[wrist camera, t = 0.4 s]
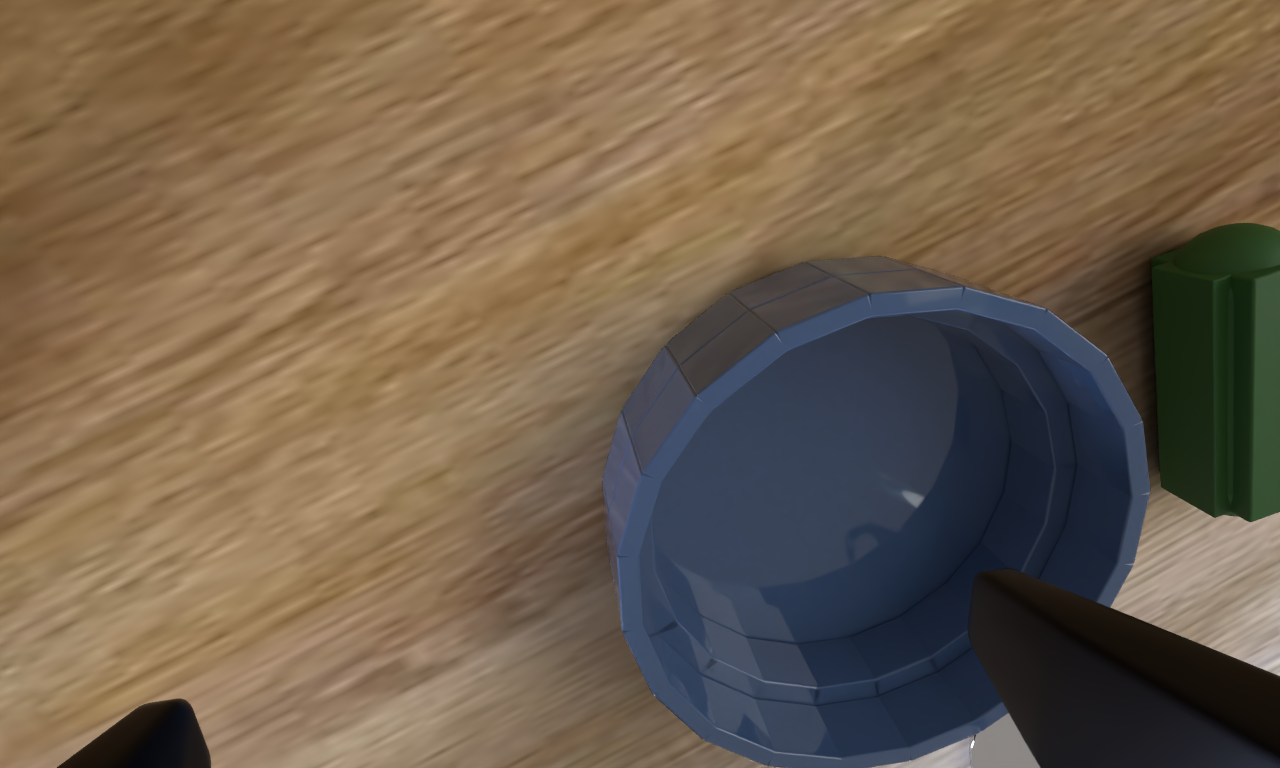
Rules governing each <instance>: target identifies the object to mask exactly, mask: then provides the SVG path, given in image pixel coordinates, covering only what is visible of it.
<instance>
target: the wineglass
mask: <svg viewBox="0 0 1280 768" xmlns="http://www.w3.org/2000/svg"><path fill="white" fill-rule="evenodd" d="M969 759H970V763H971V767H972V768H1040V767H1039V765H1038V763H1037V762H1036V760H1035V758H1034V757H1033V755H1032V753H1031V752H1030V750H1029V748H1028V746H1027V745H1026V743H1025V741H1024V739H1023V738H1022V736H1021V734H1020V732H1019V730H1018V729H1017V727H1016V725H1015V723H1014V722H1013V720H1012V718H1011V716H1010V714H1009V713H1008V714H1007V715H1005V716H1004V717H1002V718H1001V719H999V720H998V721H996V722H995V723H994V724H992V725H991V726H989V727H988V728H986V729H985V730H983V731H980V733H978V734H976V735H973V736H972V737H971V740H970V746H969Z"/></svg>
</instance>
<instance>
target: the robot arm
mask: <svg viewBox="0 0 1280 768" xmlns="http://www.w3.org/2000/svg"><path fill="white" fill-rule="evenodd" d="M967 630H968V637H969V641H970V643H971V646H972V648H973V650H974V652H975V654H976V656H977V658H978V659H979V661H980V663H981V665H982V666H983V668H984V670H985V672H986V674H987V675H988V677H989V679H990V681H991V682H992V684H993V686H994V688H995V690H996V691H997V693H998V695H999V697H1000V698H1001V700H1002V702H1003V704H1004V706H1005V707H1006V709H1007V711H1008V713H1009V714H1010V716H1011V718H1012V720H1013V722H1014V723H1015V725H1016V727H1017V729H1018V730H1019V732H1020V734H1021V736H1022V738H1023V739H1024V741H1025V743H1026V745H1027V746H1028V748H1029V750H1030V752H1031V753H1032V755H1033V757H1034V758H1035V760H1036V762H1037V763H1038V765H1039V767H1040V768H1280V676H1278V675H1275V674H1273V673H1270V672H1268V671H1265V670H1263V669H1260V668H1258V667H1256V666H1253V665H1251V664H1248V663H1246V662H1243V661H1241V660H1238V659H1236V658H1233V657H1231V656H1228V655H1226V654H1223V653H1221V652H1218V651H1216V650H1213V649H1211V648H1209V647H1206V646H1204V645H1201V644H1199V643H1196V642H1194V641H1191V640H1189V639H1186V638H1184V637H1181V636H1179V635H1176V634H1174V633H1171V632H1169V631H1166V630H1164V629H1162V628H1159V627H1157V626H1154V625H1152V624H1149V623H1147V622H1144V621H1142V620H1139V619H1137V618H1134V617H1132V616H1129V615H1127V614H1124V613H1122V612H1120V611H1117V610H1115V609H1112V608H1110V607H1107V606H1105V605H1102V604H1100V603H1097V602H1095V601H1092V600H1090V599H1087V598H1085V597H1082V596H1080V595H1078V594H1075V593H1073V592H1070V591H1068V590H1065V589H1063V588H1060V587H1058V586H1055V585H1053V584H1050V583H1048V582H1045V581H1043V580H1040V579H1038V578H1036V577H1033V576H1031V575H1028V574H1026V573H1023V572H1021V571H1018V570H1016V569H1013V568H1007V567H1005V568H998V569H992V570H985V571H980V572H978V573H977V574H976V575H975V576H974V578H973V580H972V585H971V594H970V604H969V614H968V624H967ZM57 768H211V759H210V754H209V750H208V748H207V745H206V742H205V740H204V737H203V734H202V732H201V729H200V727H199V724H198V721H197V719H196V716H195V713H194V711H193V708H192V707H191V705H190V704H189V703H188V702H187V701H186V700H184V699H171V700H165V701H159V702H152V703H148V704H144V705H142V706H139V707H138V708H136V709H135V710H134V711H132V712H131V713H130V714H128V715H127V716H126V717H124V718H123V719H122V720H120V721H119V722H117V723H116V724H115V725H113V726H112V727H111V728H109V729H108V730H107V731H105V732H104V733H103V734H101V735H100V736H99V737H97V738H96V739H95V740H93V741H92V742H91V743H89V744H88V745H87V746H85V747H84V748H82V749H81V750H80V751H78V752H77V753H76V754H74V755H73V756H72V757H70V758H69V759H68V760H66V761H65V762H64V763H62V764H61V765H60V766H58V767H57Z"/></svg>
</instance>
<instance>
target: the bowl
mask: <svg viewBox="0 0 1280 768" xmlns="http://www.w3.org/2000/svg"><path fill="white" fill-rule="evenodd" d="M666 345H667V346H666ZM666 345H665V346H664V347H663V348H662V349H661V351H660V352H659V354H658V355H657V357H656V358H655V360H654V361H653V363H652V364H651V366H650V367H649V369H648V370H647V372H646V373H645V375H644V376H643V378H642V379H641V381H640V382H639V384H638V385H637V387H636V388H635V390H634V391H633V393H632V394H631V396H630V397H629V399H628V400H627V402H626V403H625V405H624V406H623V410H622V411H621V412H620V416H619V419H618V423H617V427H616V430H615V434H614V437H613V441H612V444H611V448H610V452H609V455H608V459H607V462H606V466H605V469H604V473H603V481H602V488H603V502H604V516H605V530H606V543H607V549H608V554H609V560H610V566H611V571H612V577H613V582H614V589H615V594H616V600H617V606H618V611H619V617H620V623H621V628H622V633H623V635H624V637H625V639H626V641H627V643H628V645H629V647H630V649H631V651H632V653H633V656H634V658H635V660H636V662H637V664H638V666H639V668H640V670H641V672H642V674H643V676H644V678H645V680H646V682H647V684H648V686H649V688H650V690H651V693H652V694H654V696H655V697H656V698H657V699H658V700H659V701H661V702H662V703H663V704H664V705H665V706H666V707H667V708H668V709H669V710H671V711H672V712H673V713H674V714H675V715H676V716H677V717H678V718H679V719H681V720H682V721H683V722H684V723H685V724H686V725H687V726H688V727H689V728H690V729H692V730H693V731H694V732H695V733H696V734H697V735H698V736H699V737H700V738H702V739H704V740H705V741H707V742H709V743H712V744H714V745H717V746H719V747H721V748H724V749H726V750H729V751H731V752H734V753H736V754H739V755H741V756H743V757H746V758H748V759H751V760H753V761H756V762H758V763H760V764H763V765H767V766H771V767H782V768H870V767H876V766H882V765H888V764H894V763H901V762H907V761H910V760H915V759H917V758H919V757H922V756H924V755H927V754H929V753H932V752H934V751H937V750H939V749H941V748H944V747H946V746H949V745H951V744H954V743H956V742H959V741H961V740H963V739H966V738H968V737H971V736H973V735H976V734H978V733H980V731H983V730H985V729H986V728H988V727H989V726H991V725H992V724H994V723H995V722H996V721H998V720H999V719H1001V718H1002V717H1004V716H1005V715H1007V714H1008V711H1007V709H1006V707H1005V706H1004V704H1003V702H1002V700H1001V698H1000V697H999V695H998V693H997V691H996V690H995V688H994V686H993V684H992V682H991V681H990V679H989V677H988V675H987V674H986V672H985V670H984V668H983V666H982V665H981V663H980V661H979V659H978V658H977V656H976V654H975V652H974V650H973V648H972V646H971V643H970V641H969V637H968V630H967V624H968V614H969V604H970V594H971V585H972V580H973V578H974V576H975V575H976V574H977V573H978V572H980V571H985V570H992V569H998V568H1005V567H1007V568H1013V569H1016V570H1018V571H1021V572H1023V573H1026V574H1028V575H1031V576H1033V577H1036V578H1038V579H1040V580H1043V581H1045V582H1048V583H1050V584H1053V585H1055V586H1058V587H1060V588H1063V589H1065V590H1068V591H1070V592H1073V593H1075V594H1078V595H1080V596H1082V597H1085V598H1087V599H1090V600H1092V601H1095V602H1097V603H1100V604H1102V605H1105V606H1107V607H1111V605H1112V603H1113V601H1114V600H1115V598H1116V596H1117V594H1118V592H1119V591H1120V589H1121V587H1122V585H1123V583H1124V582H1125V580H1126V578H1127V576H1128V574H1129V572H1130V571H1131V569H1132V567H1133V563H1134V561H1135V557H1136V553H1137V548H1138V544H1139V540H1140V535H1141V531H1142V526H1143V522H1144V518H1145V513H1146V509H1147V505H1148V500H1149V496H1150V493H1149V492H1150V482H1149V472H1148V463H1147V454H1146V445H1145V435H1144V426H1143V421H1142V418H1141V416H1140V414H1139V413H1138V411H1137V409H1136V407H1135V405H1134V403H1133V402H1132V400H1131V398H1130V396H1129V394H1128V392H1127V390H1126V389H1125V387H1124V385H1123V383H1122V381H1121V379H1120V378H1119V376H1118V374H1117V372H1116V370H1115V368H1114V366H1113V365H1112V363H1111V361H1110V359H1109V358H1108V357H1107V354H1105V353H1104V352H1103V351H1101V350H1100V349H1099V348H1098V347H1096V346H1095V345H1094V344H1092V343H1091V342H1090V341H1089V340H1087V339H1086V338H1085V337H1083V336H1082V335H1081V334H1080V333H1078V332H1077V331H1076V330H1074V329H1073V328H1072V327H1071V326H1069V325H1068V324H1067V323H1065V322H1064V321H1063V320H1061V319H1060V318H1059V317H1058V316H1056V315H1055V314H1054V313H1052V312H1051V311H1050V310H1049V309H1046V308H1044V307H1042V306H1039V305H1036V304H1033V303H1030V302H1028V301H1025V300H1022V299H1019V298H1016V297H1013V296H1010V295H1008V294H1005V293H1002V292H999V291H996V290H993V289H990V288H988V287H985V286H982V285H979V284H976V283H973V282H970V281H968V280H965V279H962V278H959V277H956V276H953V275H951V274H947V273H943V272H940V271H936V270H933V269H929V268H925V267H922V266H918V265H914V264H911V263H907V262H903V261H900V260H896V259H893V258H889V257H882V256H871V257H858V258H844V259H831V260H817V261H806V262H805V263H804V262H802V263H800V264H797V265H795V266H792V267H790V268H787V269H785V270H783V271H780V272H778V273H775V274H773V275H770V276H768V277H765V278H763V279H760V280H758V281H755V282H753V283H750V284H748V285H746V286H743V287H741V288H738V289H736V290H733V291H731V292H730V294H726V295H725V296H724V297H723V298H721V299H720V300H719V301H718V302H717V303H715V304H714V305H713V306H712V307H710V308H709V309H708V310H707V311H705V312H704V313H703V314H702V315H701V316H699V317H698V318H697V319H696V320H694V321H693V322H692V323H691V324H689V325H688V326H687V327H686V328H685V329H683V330H682V331H681V332H680V333H678V334H677V335H676V336H675V337H673V338H672V339H671V340H670V341H668V342H667V344H666Z"/></svg>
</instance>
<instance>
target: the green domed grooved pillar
mask: <svg viewBox="0 0 1280 768" xmlns="http://www.w3.org/2000/svg"><path fill="white" fill-rule="evenodd" d="M1151 275H1152V299H1153V324H1154V348H1155V373H1156V397H1157V421H1158V446H1159V470H1160V481H1161V487H1162V488H1163V489H1165V490H1167V491H1169V492H1170V493H1172V494H1174V495H1176V496H1177V497H1179V498H1181V499H1183V500H1184V501H1186V502H1188V503H1190V504H1191V505H1193V506H1195V507H1197V508H1198V509H1200V510H1202V511H1204V512H1205V513H1207V514H1209V515H1211V516H1212V517H1215V518H1216V517H1219V516H1221V515H1229V516H1239V517H1241V518H1243V519H1244V520H1246V521H1248V522H1253V521H1256V520H1258V519H1261V518H1264V517H1267V516H1269V515H1272V514H1275V513H1278V512H1280V231H1279V230H1277V229H1274V228H1272V227H1269V226H1264V225H1259V224H1253V223H1237V224H1228V225H1223V226H1219V227H1216V228H1213V229H1211V230H1208V231H1206V232H1204V233H1201V234H1199V235H1198V236H1196V237H1195V238H1193V239H1192V240H1190V241H1189V242H1188V243H1186V244H1185V245H1184V246H1183V247H1182V248H1180V249H1177V250H1174V251H1171V252H1168V253H1165V254H1163V255H1160V256H1157V257H1154V258H1152V259H1151Z"/></svg>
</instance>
